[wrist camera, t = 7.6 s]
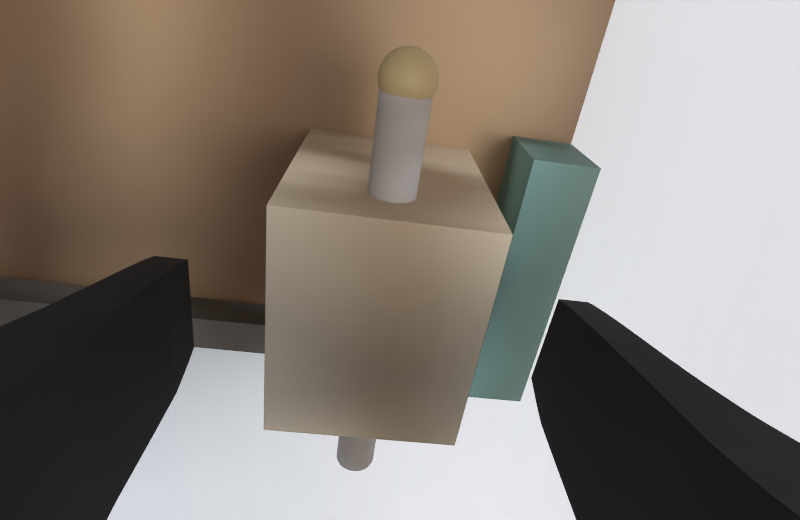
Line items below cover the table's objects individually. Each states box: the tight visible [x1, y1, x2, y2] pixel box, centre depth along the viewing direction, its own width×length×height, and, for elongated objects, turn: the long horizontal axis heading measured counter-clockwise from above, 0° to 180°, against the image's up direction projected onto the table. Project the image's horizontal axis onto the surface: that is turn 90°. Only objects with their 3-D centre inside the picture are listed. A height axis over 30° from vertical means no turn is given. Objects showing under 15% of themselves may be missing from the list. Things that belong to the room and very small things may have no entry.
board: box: [0, 0, 615, 401], centre depth 12 cm, size 16×11×4 cm
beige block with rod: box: [264, 46, 513, 471], centre depth 11 cm, size 4×10×5 cm, turn 172°
